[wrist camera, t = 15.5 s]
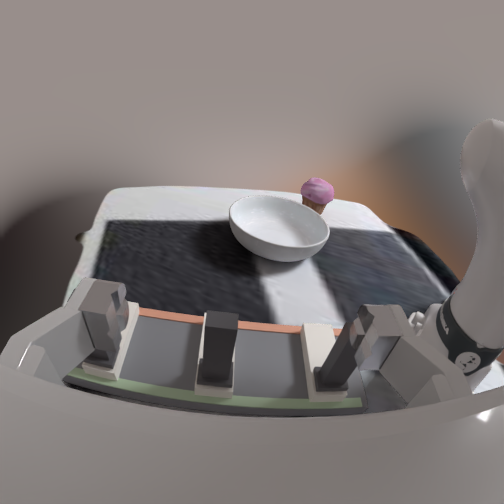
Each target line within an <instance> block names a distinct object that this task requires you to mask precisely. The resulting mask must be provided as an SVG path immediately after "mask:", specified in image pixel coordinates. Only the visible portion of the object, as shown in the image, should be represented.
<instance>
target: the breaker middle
mask: <svg viewBox="0 0 504 504" xmlns="http://www.w3.org/2000/svg"><path fill="white" fill-rule="evenodd" d="M237 332H238V314H234V313H226V312H217V311H209V310H207V314H206V321H205V330H204V345H203V358H200V359H199V367H198V375H197V384H199V385H207V386H216V387H226V388H232V385H233V364H234V362H232V358H233V353H234V347H235V342H236V337H237Z"/></svg>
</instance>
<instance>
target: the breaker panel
mask: <svg viewBox="0 0 504 504" xmlns="http://www.w3.org/2000/svg"><path fill="white" fill-rule="evenodd" d="M128 305H129V318H128V323H127V326H126V329H124V330H123V331H121V336H122V340H121V342H120V345H119V346H120V350H119V353H118V356H117V359H116V362H115V365H114V368H113V369H111V368H106V367H102V366H98V365H94V364H90V363H86V362H83V361H82V362H81V363H80V364H78V365H77V366H76V367H75V368H74V369H73V370H72V371H70V372H69V373H68V374H67V375H66V376H65V377H64V378H63V379H62V380H63V381H64V382H68V383H71V384H74V385H78V386H81V387H85V388H88V389H92V390H96V391H100V392H104V393H108V394H112V395H116V396H121V397H125V398H130V399H135V400H140V401H145V402H150V403H155V404H161V405H167V406H173V407H180V408H187V409H195V410H203V411H212V412H222V413H233V414H247V415H266V416H333V415H351V414H362V413H363V412H364V411H365V410H366V409H367V408H368V403H367V398H366V394H365V390H364V386H363V382H362V378H361V374H360V370H358V367H356V368H355V370H354V371H353V373H352V374H351V375H350V377H349V378H348V380H347V382H348V386H349V388H348V390H347V391H324V392H316V387H315V380H314V373H313V369H314V367H322V365H323V363H324V362H325V360H326V358H327V356H328V355H329V353H330V351H331V349H332V347H333V346H334V344H335V342H336V340H337V338H338V336H339V334H340V333H341V331H342V329H333V328H332V325H328V324H313V323H303V325H302V326H289V325H277V324H265V323H255V322H245V321H238V332H237V337H236V342H235V347H234V353H233V358H232V362H234V364H233V385H232V388H226V387H216V386H207V385H199V384H197V375H198V367H199V359H200V358H203V345H204V330H205V321H206V314H207V313H205V315H204V317H202V316H194V315H187V314H179V313H172V312H166V311H159V310H152V309H146V308H140V307H139V305H138V303H133V302H128Z"/></svg>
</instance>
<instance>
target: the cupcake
mask: <svg viewBox="0 0 504 504" xmlns="http://www.w3.org/2000/svg"><path fill="white" fill-rule="evenodd" d="M301 195H302V199H303V201H302V204H303V205H305V206H307V207H309V208H311V209H312V210H314V211H315V212H317V213H318V214H319V215H320V214H322V212H323V210H324V208H325V206H326V204H327V203H329V202H331V201H332V200H333V197H334V189H333V187H332V185H330V184H329V183H327V182H326V181H324V180H322V179H319V178H311V179H309V181H307V182H305V183H304V184H303V186H302V188H301Z"/></svg>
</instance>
